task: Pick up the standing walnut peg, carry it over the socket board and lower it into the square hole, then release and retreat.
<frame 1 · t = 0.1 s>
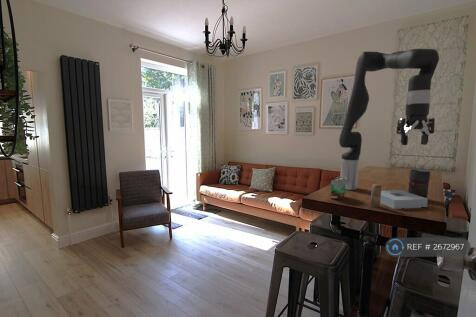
hand: (414, 144, 98), 29 cm above the table, fingers open, 8 cm apart
socket board: (397, 202, 118), on the table
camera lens: (417, 199, 123), on the table
peg: (375, 206, 113), on the table
food container: (339, 198, 126), on the table
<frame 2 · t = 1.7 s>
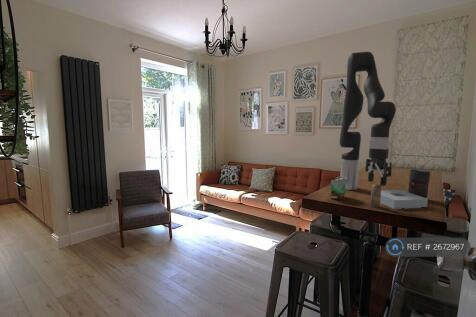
hand: (376, 183, 111), 11 cm above the table, fingers open, 8 cm apart
nothing on the table moved.
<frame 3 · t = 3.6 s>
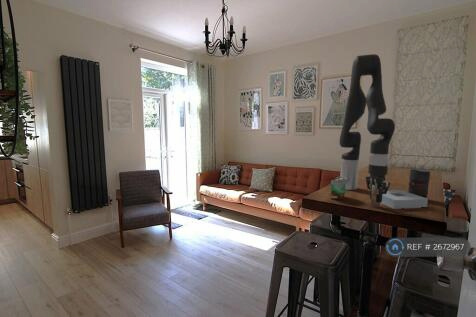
hand: (375, 200, 112), 3 cm above the table, fingers closed on peg, 3 cm apart
peg: (375, 206, 113), on the table, touching gripper
everything else where it was.
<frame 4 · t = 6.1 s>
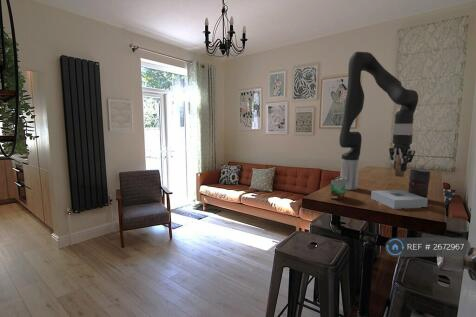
hand: (399, 170, 116), 16 cm above the table, fingers closed on peg, 3 cm apart
peg: (399, 176, 116), point 13 cm above the table, touching gripper
everything else where it was.
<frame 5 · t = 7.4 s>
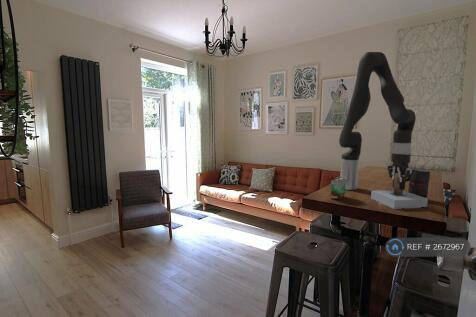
hand: (398, 188, 117), 7 cm above the table, fingers closed on peg, 3 cm apart
peg: (397, 194, 117), point 4 cm above the table, touching gripper
everything else where it was.
when the fingers open (5 cm above the table, at t = 8.7 s): peg drops 2 cm, resting in socket board.
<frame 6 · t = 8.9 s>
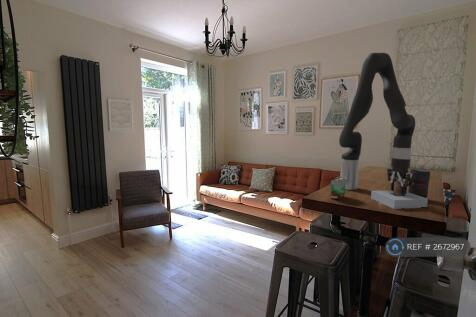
hand: (398, 192, 117), 5 cm above the table, fingers open, 5 cm apart
peg: (397, 202, 118), resting in socket board
everything else where it was.
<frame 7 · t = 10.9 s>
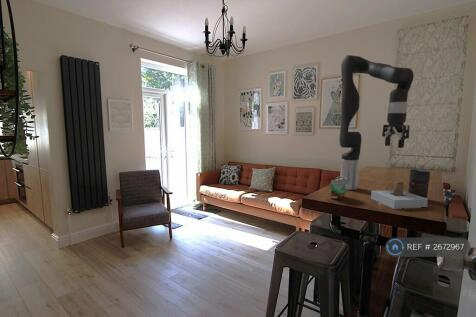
hand: (393, 146, 118), 27 cm above the table, fingers open, 8 cm apart
nothing on the table moved.
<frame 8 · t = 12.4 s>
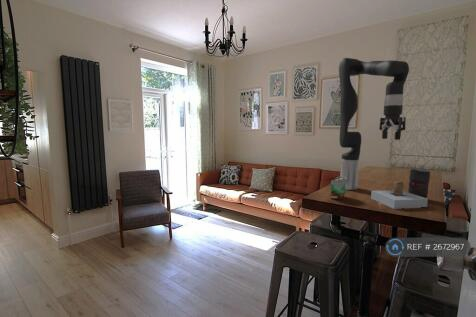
hand: (390, 139, 119), 30 cm above the table, fingers open, 8 cm apart
nothing on the table moved.
at the end: peg 0.1 cm off-centre on the socket board, point 0.0 cm above the socket board's base; peg tilted 0°; the gripper is holding nothing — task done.
